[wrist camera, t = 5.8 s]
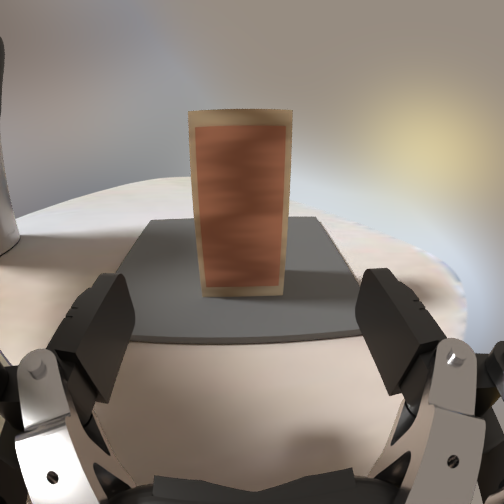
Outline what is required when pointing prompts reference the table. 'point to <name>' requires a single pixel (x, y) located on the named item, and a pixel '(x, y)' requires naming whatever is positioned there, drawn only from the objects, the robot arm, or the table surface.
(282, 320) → the rubber mat
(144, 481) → the table surface
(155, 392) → the table surface
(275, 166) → the tan two-tone tall block
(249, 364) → the table surface
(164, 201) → the table surface
